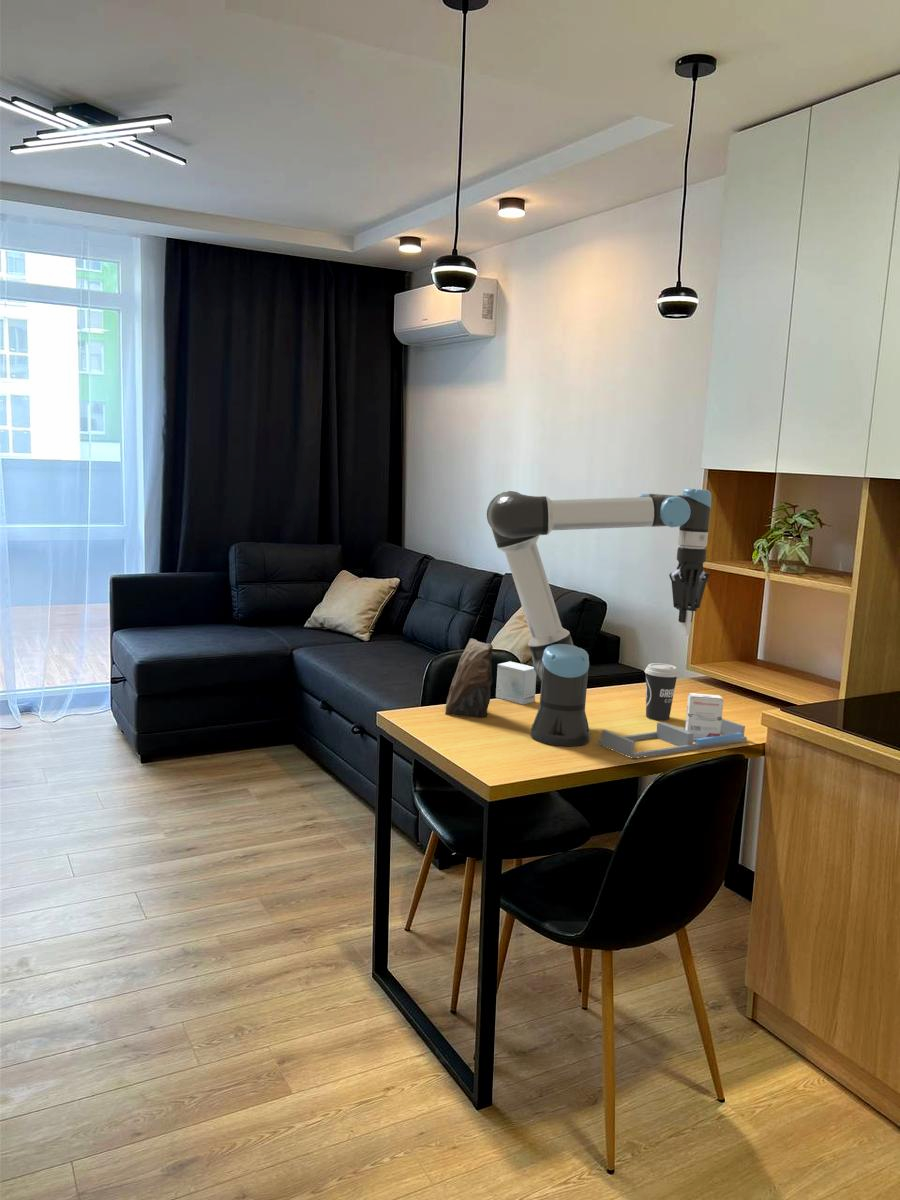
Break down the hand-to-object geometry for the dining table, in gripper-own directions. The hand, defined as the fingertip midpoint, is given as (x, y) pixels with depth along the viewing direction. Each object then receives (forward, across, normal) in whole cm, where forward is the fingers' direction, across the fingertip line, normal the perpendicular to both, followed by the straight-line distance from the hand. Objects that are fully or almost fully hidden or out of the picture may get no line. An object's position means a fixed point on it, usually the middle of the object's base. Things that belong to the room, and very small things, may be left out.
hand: (684, 634), depth 248 cm
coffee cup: (+27, +4, +11) cm, 29 cm away
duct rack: (+26, -10, -10) cm, 30 cm away
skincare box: (+27, -24, +42) cm, 55 cm away
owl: (+27, -46, +35) cm, 64 cm away
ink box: (+27, 0, -10) cm, 28 cm away
